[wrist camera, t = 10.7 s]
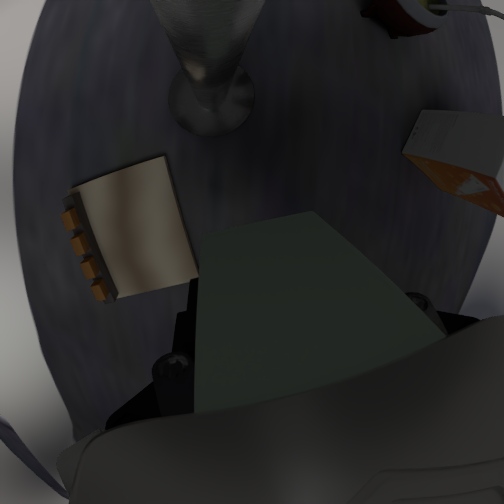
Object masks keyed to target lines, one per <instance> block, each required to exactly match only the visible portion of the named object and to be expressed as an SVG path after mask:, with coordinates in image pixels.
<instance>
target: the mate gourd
mask: <svg viewBox="0 0 504 504" xmlns="http://www.w3.org/2000/svg"><path fill="white" fill-rule="evenodd" d="M449 10H453V11H468V12H479V13H481V14H484V15H486V14H487V15H494V16H497V17H499V18H501V19H503V20H504V14H502V13H500V12H498V11H495V10H492V9H490V8H489V7H484V6H479V7H476V6H462V5H448V2H447V0H372V4H371V5H370V7H369V8H368V9H367V10H361V11H360V13H361V16H362V17H366V18H381V20H382V21H383V22H384V23H385V26H386V28H387V31H388V33H389V36H390V38H391V39H398V36H407V37H410V36H415V35H421V34H427V33H430V32H433V31H434V30H436V29H438V28H439V27H441V26H443V25H444V24H445V22H446V19H447V16H448V13H449Z"/></svg>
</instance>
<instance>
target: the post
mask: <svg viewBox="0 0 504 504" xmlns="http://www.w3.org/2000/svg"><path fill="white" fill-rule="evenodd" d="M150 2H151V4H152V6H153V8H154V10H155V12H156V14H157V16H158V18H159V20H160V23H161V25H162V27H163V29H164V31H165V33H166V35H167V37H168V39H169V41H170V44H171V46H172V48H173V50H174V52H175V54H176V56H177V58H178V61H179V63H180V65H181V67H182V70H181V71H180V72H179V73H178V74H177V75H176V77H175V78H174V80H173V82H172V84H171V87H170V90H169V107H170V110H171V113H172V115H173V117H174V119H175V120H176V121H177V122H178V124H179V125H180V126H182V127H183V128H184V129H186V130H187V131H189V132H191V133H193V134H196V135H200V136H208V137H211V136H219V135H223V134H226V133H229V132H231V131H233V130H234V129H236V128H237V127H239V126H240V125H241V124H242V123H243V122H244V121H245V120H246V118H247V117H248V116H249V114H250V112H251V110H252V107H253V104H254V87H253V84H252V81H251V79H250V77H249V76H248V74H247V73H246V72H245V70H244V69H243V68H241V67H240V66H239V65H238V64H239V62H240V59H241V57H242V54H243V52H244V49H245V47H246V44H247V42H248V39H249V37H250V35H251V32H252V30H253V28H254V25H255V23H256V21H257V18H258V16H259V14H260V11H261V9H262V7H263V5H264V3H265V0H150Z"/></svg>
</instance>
